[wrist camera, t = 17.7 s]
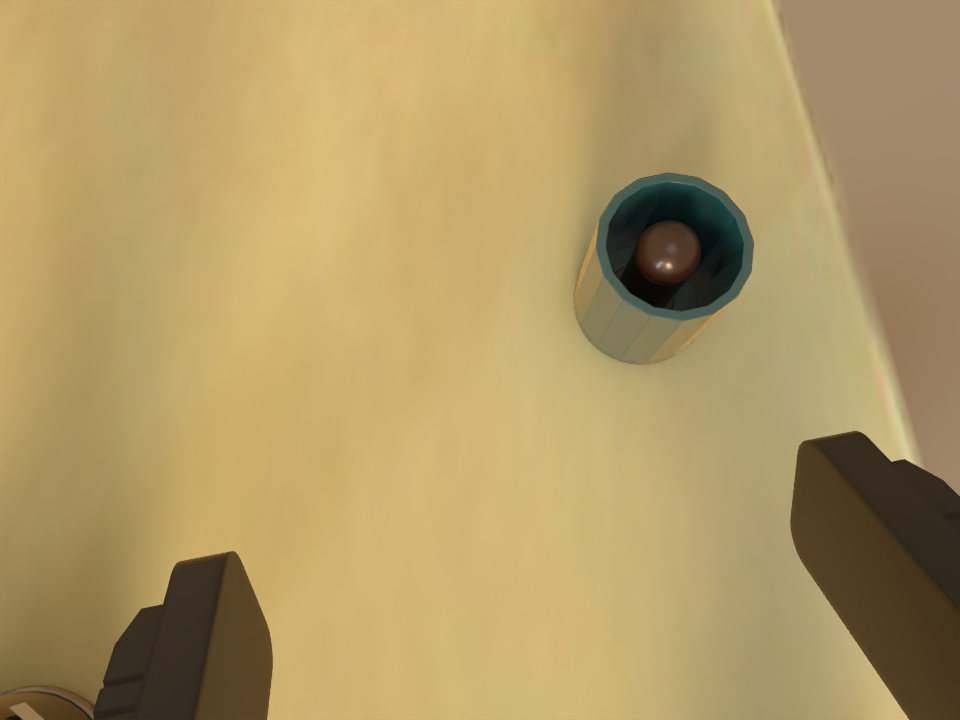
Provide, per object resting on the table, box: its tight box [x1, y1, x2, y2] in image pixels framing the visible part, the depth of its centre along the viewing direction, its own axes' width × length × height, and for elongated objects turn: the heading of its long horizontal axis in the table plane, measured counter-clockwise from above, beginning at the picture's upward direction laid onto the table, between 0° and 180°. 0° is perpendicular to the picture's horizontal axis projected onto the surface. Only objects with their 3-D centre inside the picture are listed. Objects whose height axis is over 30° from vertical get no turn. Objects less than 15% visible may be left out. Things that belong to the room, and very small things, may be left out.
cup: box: [574, 173, 754, 364], centre depth 42 cm, size 8×8×9 cm
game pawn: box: [615, 220, 701, 310], centre depth 41 cm, size 4×4×9 cm
